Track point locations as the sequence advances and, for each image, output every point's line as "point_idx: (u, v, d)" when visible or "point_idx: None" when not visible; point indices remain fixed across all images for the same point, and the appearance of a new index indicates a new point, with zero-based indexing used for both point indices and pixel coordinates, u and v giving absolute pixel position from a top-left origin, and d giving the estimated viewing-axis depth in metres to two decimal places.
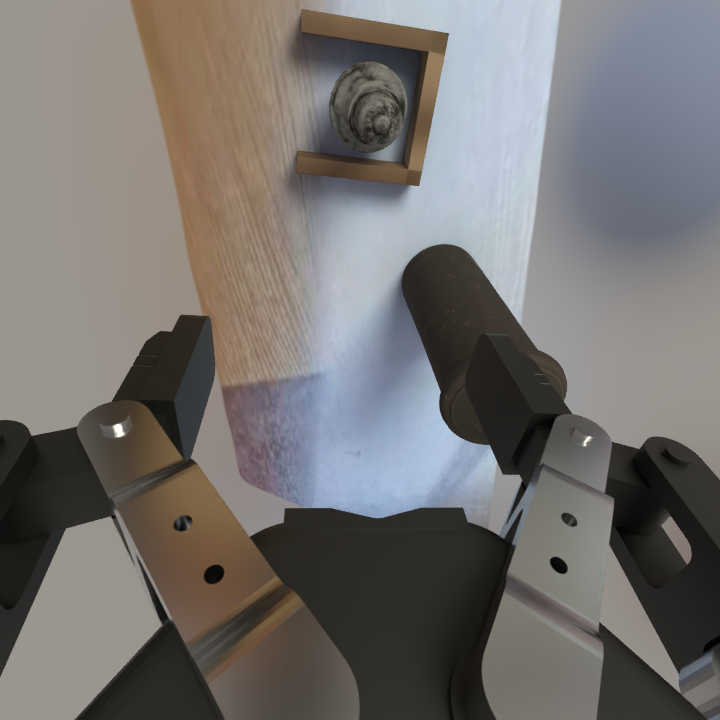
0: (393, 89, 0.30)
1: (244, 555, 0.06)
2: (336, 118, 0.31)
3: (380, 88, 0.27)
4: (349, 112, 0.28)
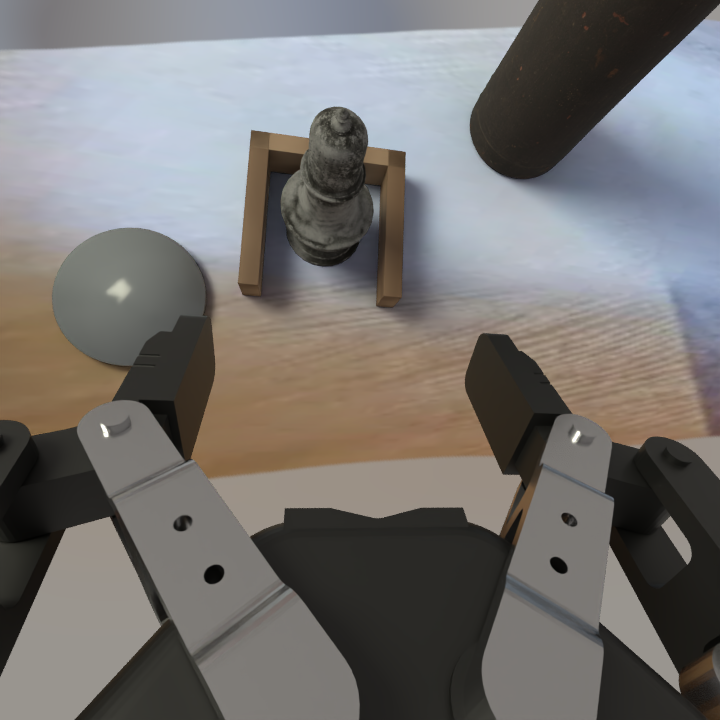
0: None
1: (244, 555, 0.06)
2: (339, 241, 0.26)
3: (303, 163, 0.22)
4: (331, 200, 0.22)
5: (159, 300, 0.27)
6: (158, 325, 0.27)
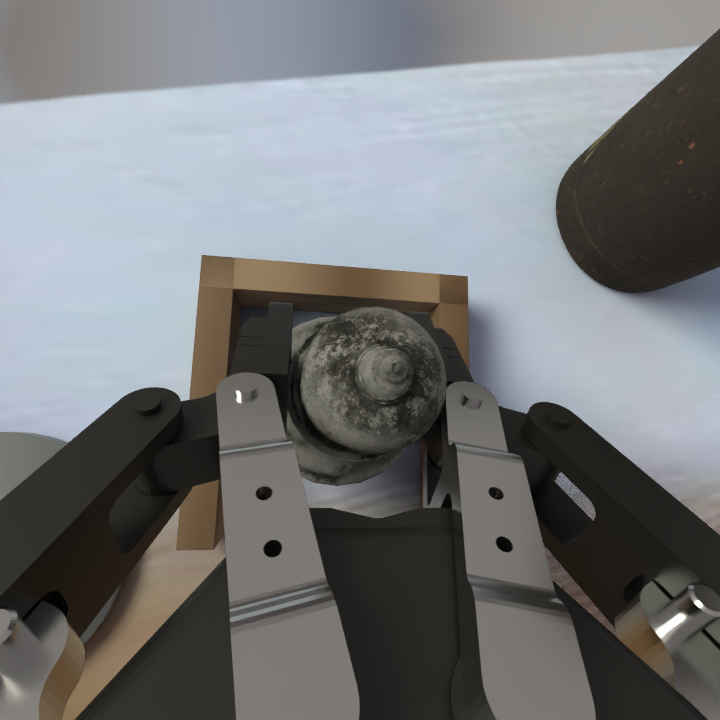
0: (298, 349, 0.14)
1: (302, 543, 0.06)
2: (361, 468, 0.14)
3: (291, 381, 0.10)
4: (351, 458, 0.10)
5: None
6: None
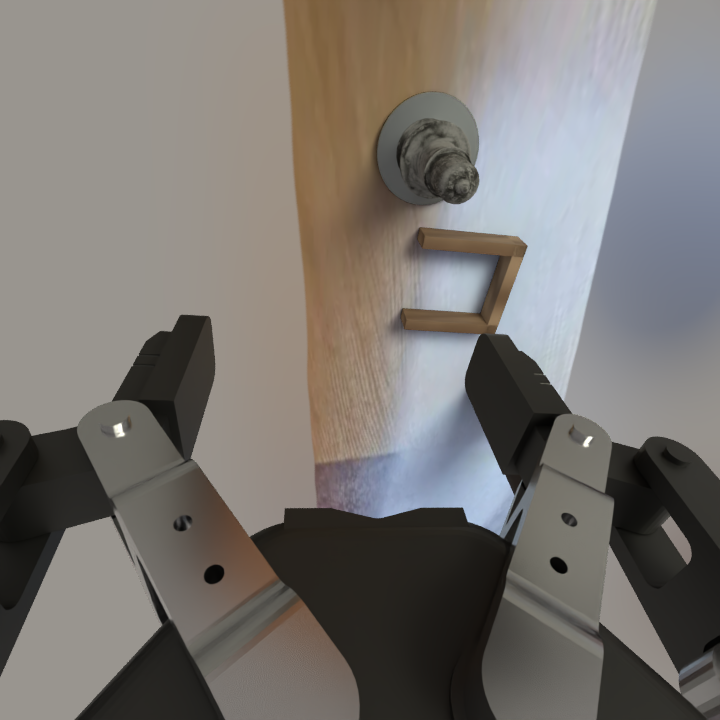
0: (460, 145, 0.33)
1: (244, 555, 0.06)
2: (405, 169, 0.34)
3: (456, 149, 0.30)
4: (425, 169, 0.31)
5: None
6: None
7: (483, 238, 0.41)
